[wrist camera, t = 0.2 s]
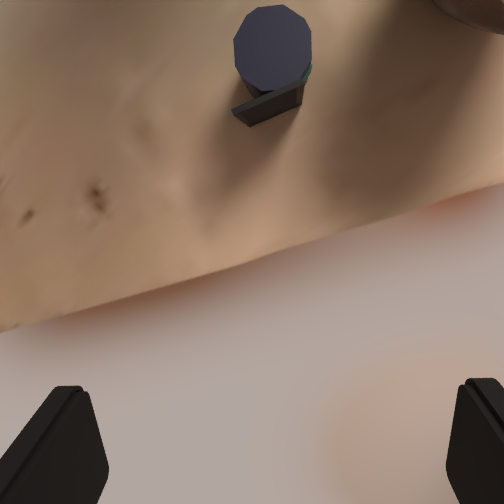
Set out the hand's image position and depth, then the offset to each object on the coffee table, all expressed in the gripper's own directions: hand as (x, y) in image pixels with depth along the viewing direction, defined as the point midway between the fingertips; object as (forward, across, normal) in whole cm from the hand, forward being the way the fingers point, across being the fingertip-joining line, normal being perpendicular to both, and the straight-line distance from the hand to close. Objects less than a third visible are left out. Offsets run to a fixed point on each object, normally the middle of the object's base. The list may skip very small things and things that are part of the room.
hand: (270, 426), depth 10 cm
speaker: (+31, 0, -10) cm, 33 cm away
